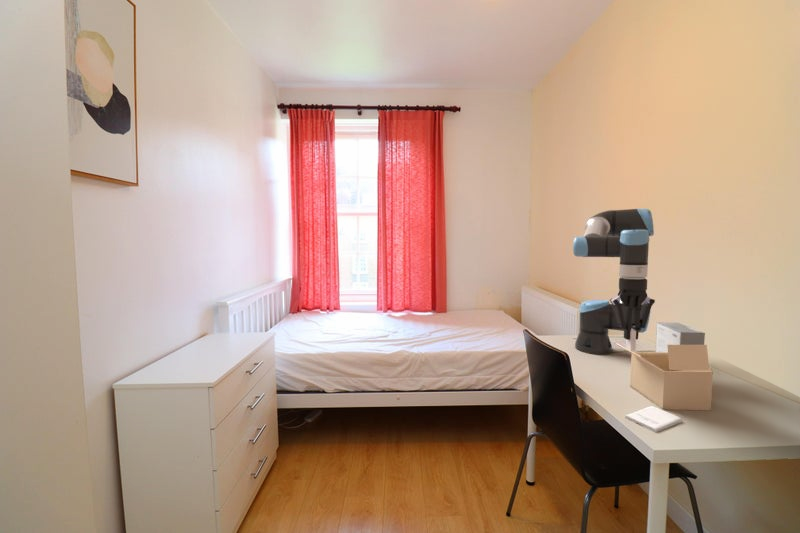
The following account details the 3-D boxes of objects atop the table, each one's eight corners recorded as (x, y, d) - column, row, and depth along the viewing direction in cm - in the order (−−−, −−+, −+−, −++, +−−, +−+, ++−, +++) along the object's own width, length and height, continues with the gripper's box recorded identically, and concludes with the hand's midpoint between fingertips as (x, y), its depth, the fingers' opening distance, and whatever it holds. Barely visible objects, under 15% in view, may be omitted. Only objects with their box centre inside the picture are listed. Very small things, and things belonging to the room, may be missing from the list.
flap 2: (667, 344, 102) (667, 344, 102) (705, 344, 102) (706, 344, 101) (669, 369, 102) (670, 369, 101) (708, 369, 101) (709, 370, 100)
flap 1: (632, 352, 116) (632, 353, 116) (616, 342, 116) (615, 343, 116) (659, 367, 103) (658, 368, 103) (641, 356, 103) (640, 356, 103)
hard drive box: (702, 390, 115) (706, 333, 113) (677, 388, 117) (680, 332, 115) (675, 372, 130) (678, 322, 129) (653, 371, 132) (655, 321, 130)
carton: (629, 385, 119) (630, 352, 118) (672, 386, 118) (674, 352, 117) (662, 409, 103) (664, 370, 102) (713, 410, 102) (715, 370, 101)
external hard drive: (681, 423, 96) (655, 434, 91) (650, 410, 104) (624, 419, 99) (681, 418, 96) (655, 428, 91) (650, 405, 104) (624, 414, 99)
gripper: (618, 279, 105) (616, 352, 106) (662, 278, 104) (659, 352, 106) (605, 276, 112) (603, 345, 114) (646, 276, 111) (643, 345, 113)
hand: (630, 348), depth 110 cm, fingers closed
